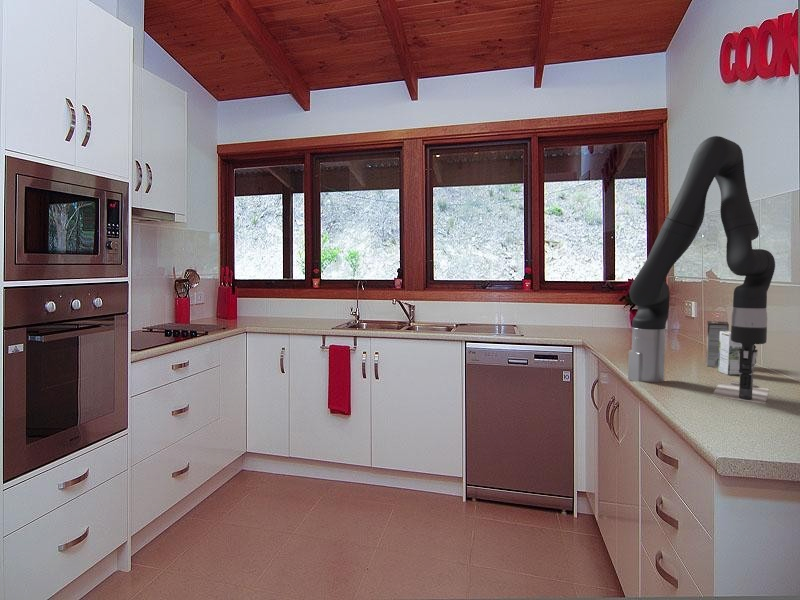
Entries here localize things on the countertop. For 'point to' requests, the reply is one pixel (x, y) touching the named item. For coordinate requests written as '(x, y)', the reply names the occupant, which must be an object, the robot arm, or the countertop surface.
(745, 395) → the marker
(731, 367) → the syrup box
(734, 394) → the clipboard
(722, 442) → the countertop surface
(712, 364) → the coffee box
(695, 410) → the countertop surface
